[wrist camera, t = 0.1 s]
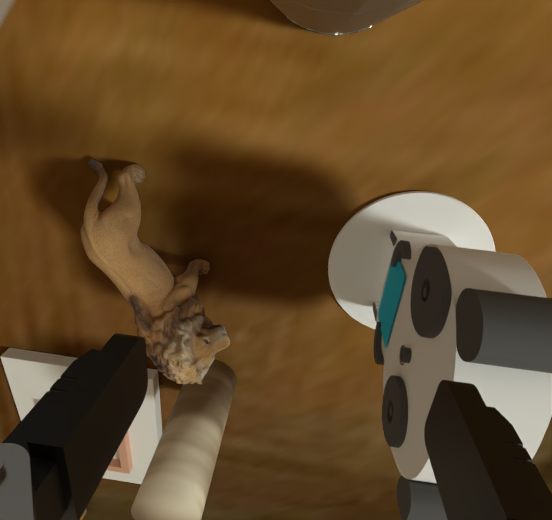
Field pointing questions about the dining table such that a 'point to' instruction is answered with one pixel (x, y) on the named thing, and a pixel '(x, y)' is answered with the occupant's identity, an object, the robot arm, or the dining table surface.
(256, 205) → the dining table surface
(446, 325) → the panda figurine
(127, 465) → the board
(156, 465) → the maple pin
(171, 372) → the lion figurine
